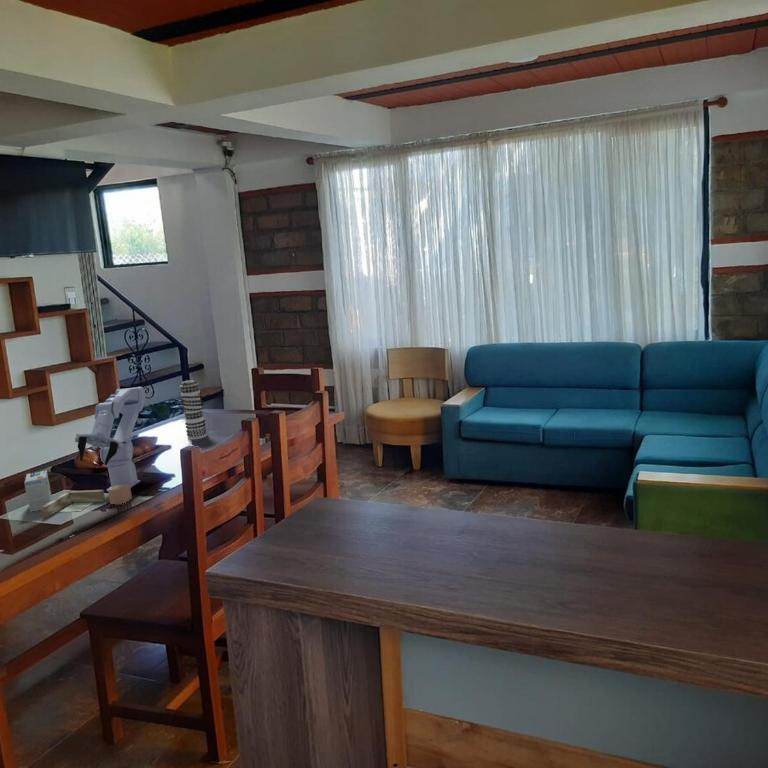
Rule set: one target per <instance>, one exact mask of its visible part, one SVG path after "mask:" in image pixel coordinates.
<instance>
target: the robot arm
mask: <svg viewBox="0 0 768 768" xmlns="http://www.w3.org/2000/svg"><path fill="white" fill-rule="evenodd" d="M146 400H147V399H146V391H145V389H144V387H143V386H137V387H129V388H127V387H126V388H117V389H116V390H115V393H114V394H110V395H109V397H108V398H107V399H105V401H104V402H99V403H98V404H96V405H95V413H94V421H95V422H94V425H93V429H92V432H91V433H86V434H85V433H84V434H82V433H81V434H80V433H76V435H75V439H74V442H75V443H77V449H78V451H79V461H81V462H82V461H83V458H84V453H85V451H86V448H87V445H91V447H92V446H95V447H99V448H101V449H100V458H101V461H102V462H103V463H104V464H105V465H104V466H106V467H107V471H108V474H109V475H108V476H109V481H110V486H109V488H107V489H106V492H108V490H110V489H111V488H113V487H114V486H116V485H130V489H131V488H132V487H134V486H136V485H137V484H139V483H140V482H141V479H138V475H137V470H136V469H137V468H136V465H135V462H134V461H132V459H133V457H134V456H133V454H134V446H133V443H132V441H131V440H130V439H131V436H132V433H133V430H134V428H135V426H136V422H137V420H138V418H139V413H140V412H141V411H143V409H144V406H145V404H146ZM120 414H122V417H121V419H120V421H119V423H118V426H117V429H116V432H115V433H114V436H113V438H112V437H111V433H112V431H113V430H112V429H113V425H114V421H115V419H117V418H119V417H120Z"/></svg>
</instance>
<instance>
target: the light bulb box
mask: <svg viewBox="0 0 768 768" xmlns="http://www.w3.org/2000/svg"><path fill="white" fill-rule="evenodd" d="M24 488H25V489H24V490H25V492H26V499H27V503H28V507H29V513H33V512H32V511H35V512H38V510H40V511H42V508H41V507H42V506H44V505H46V504H47V503H49V502H51V501H53V497H52V492H51V491H52V490H51V485H50V481H49V475H48V470H42V471H41V470H40V471H35V472H31V473H26V474H25V480H24Z"/></svg>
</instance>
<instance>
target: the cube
mask: <svg viewBox="0 0 768 768" xmlns="http://www.w3.org/2000/svg"><path fill="white" fill-rule="evenodd" d="M107 492H108V498H109V502H110V503H109V505H111V504H115V505H125V504H127V503H128V502H130V501H131V500H133V498H132V497H133V496H132V490H131V488H130V485H116V486H114V487H113V488H111V489H110V490H108V491H107ZM130 499H131V500H130ZM129 500H130V501H129ZM127 501H128V502H127ZM126 502H127V503H126ZM122 503H123V504H122ZM124 503H125V504H124Z"/></svg>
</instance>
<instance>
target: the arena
mask: <svg viewBox="0 0 768 768" xmlns="http://www.w3.org/2000/svg"><path fill="white" fill-rule="evenodd" d="M104 501H106V495H105V490H104V489H93V490H92V489H91V490H89V489H88V490H69V491H66V492H64V493H63V494H61V495H60V496H57V497H56V498H54V499H52V501H51V502H49V503H47V504H46V505H44V506H42V507H41V508H42V510H41V511H42V513H41V514H42V517H43V518H49V517H50V516H52V515H54V514H56V513H57V512H58V513H69V512H70V513H73V511H74V512H75V511H79V512H82V511H83V510H85V509H87V508H88V507H91V505H93V504H94V503H95V502H104ZM71 502H74V503H73V504H72V503H71ZM68 504H69V505H68ZM71 505H72V506H71ZM55 512H56V513H55ZM75 513H76V512H75Z"/></svg>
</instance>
